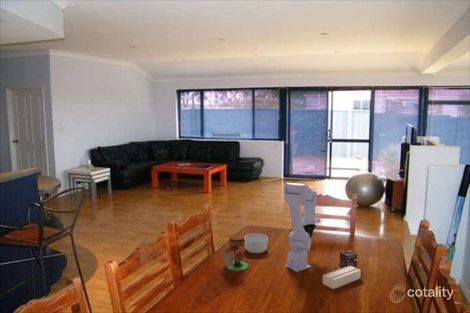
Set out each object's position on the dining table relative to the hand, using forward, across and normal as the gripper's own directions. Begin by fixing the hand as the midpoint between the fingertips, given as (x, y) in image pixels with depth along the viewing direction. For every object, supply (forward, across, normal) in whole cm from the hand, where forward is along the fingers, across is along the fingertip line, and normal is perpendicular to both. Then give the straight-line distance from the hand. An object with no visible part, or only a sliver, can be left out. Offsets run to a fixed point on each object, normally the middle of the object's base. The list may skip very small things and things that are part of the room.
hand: (308, 237), depth 199 cm
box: (+10, +5, -22) cm, 24 cm away
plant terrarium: (+10, -39, +10) cm, 41 cm away
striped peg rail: (+9, -9, -30) cm, 33 cm away
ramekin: (+10, -18, +22) cm, 30 cm away
